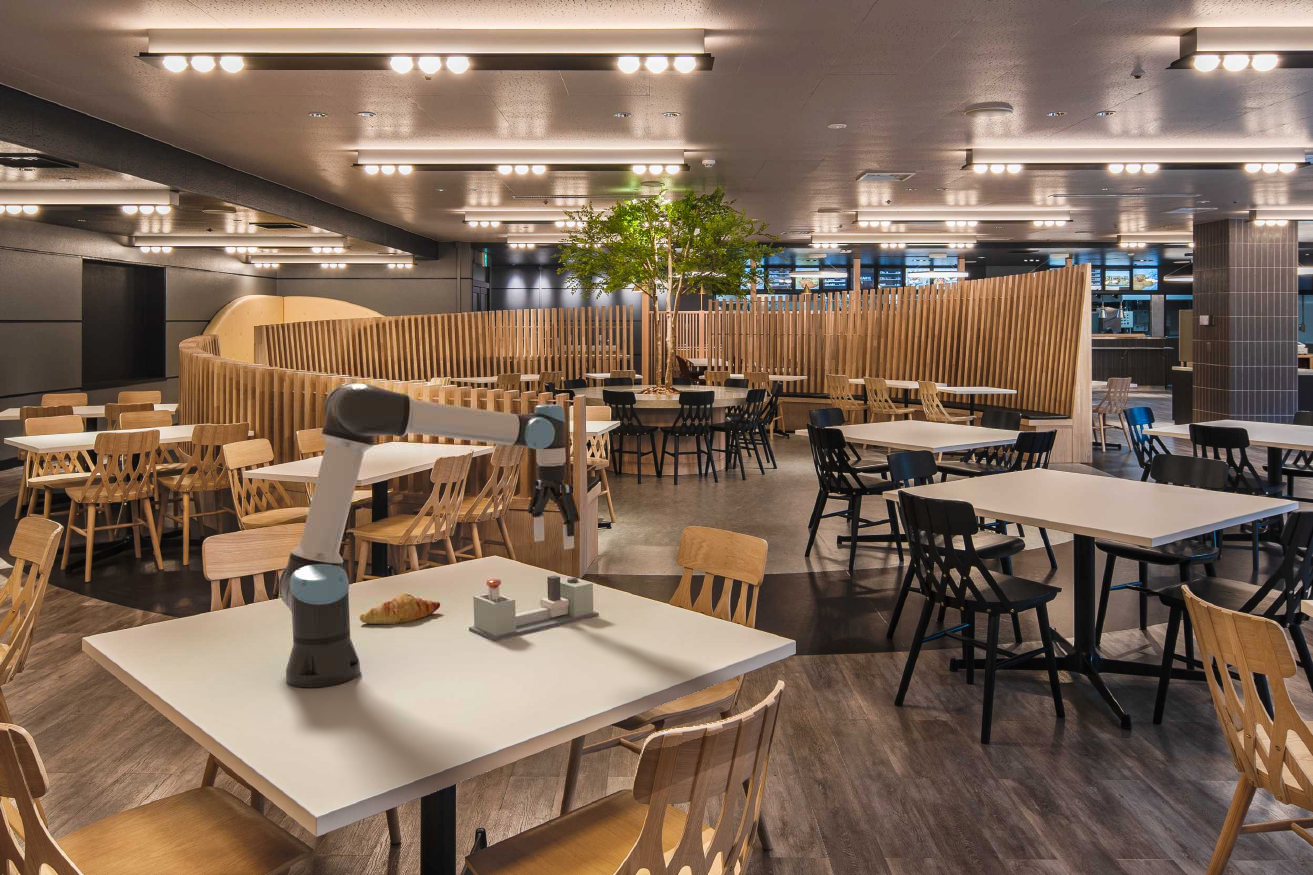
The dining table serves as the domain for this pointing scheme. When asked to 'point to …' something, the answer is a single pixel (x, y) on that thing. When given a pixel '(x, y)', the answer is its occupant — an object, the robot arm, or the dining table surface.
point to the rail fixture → (530, 612)
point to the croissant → (400, 610)
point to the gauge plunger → (494, 589)
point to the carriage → (554, 598)
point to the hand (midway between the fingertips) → (553, 544)
